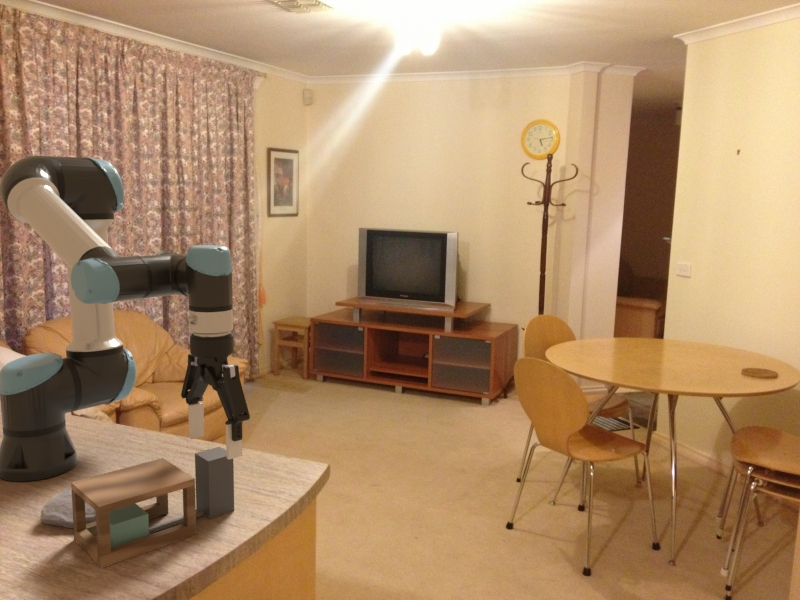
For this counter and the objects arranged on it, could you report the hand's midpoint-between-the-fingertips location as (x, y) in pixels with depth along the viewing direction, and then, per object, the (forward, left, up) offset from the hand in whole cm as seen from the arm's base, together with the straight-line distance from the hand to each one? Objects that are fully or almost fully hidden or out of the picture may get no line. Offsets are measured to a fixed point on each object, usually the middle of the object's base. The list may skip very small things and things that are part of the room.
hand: (215, 447), depth 126 cm
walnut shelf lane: (0, -15, -12) cm, 19 cm away
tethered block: (0, -9, -12) cm, 15 cm away
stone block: (-14, -20, -13) cm, 27 cm away
